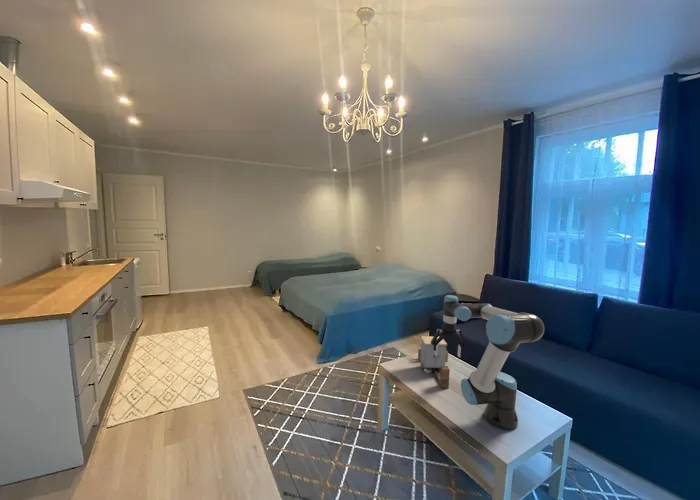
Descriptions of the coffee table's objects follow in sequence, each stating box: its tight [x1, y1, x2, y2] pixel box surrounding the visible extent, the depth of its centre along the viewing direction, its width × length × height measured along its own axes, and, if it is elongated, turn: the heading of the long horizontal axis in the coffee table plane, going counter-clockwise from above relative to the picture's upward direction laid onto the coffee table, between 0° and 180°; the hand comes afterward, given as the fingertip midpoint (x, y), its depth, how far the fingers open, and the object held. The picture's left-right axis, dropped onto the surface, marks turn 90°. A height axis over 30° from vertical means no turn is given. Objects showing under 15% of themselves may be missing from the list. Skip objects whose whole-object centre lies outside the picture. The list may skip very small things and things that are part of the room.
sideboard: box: [419, 335, 448, 371], centre depth 193 cm, size 13×14×21 cm
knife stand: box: [417, 348, 449, 363], centre depth 209 cm, size 4×20×7 cm, turn 90°
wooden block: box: [433, 365, 451, 390], centre depth 182 cm, size 17×4×12 cm, turn 0°
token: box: [423, 368, 433, 374], centre depth 194 cm, size 5×5×2 cm
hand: (447, 356), depth 175 cm, fingers open, 13 cm apart
